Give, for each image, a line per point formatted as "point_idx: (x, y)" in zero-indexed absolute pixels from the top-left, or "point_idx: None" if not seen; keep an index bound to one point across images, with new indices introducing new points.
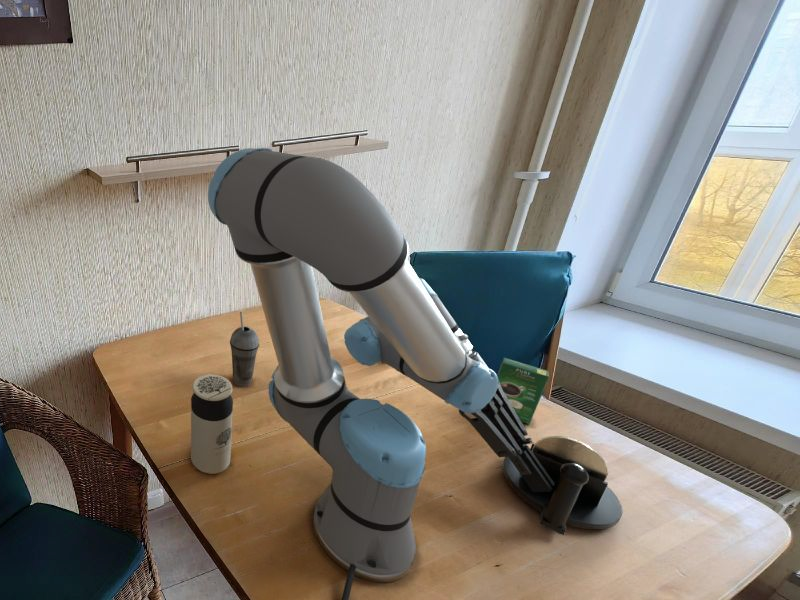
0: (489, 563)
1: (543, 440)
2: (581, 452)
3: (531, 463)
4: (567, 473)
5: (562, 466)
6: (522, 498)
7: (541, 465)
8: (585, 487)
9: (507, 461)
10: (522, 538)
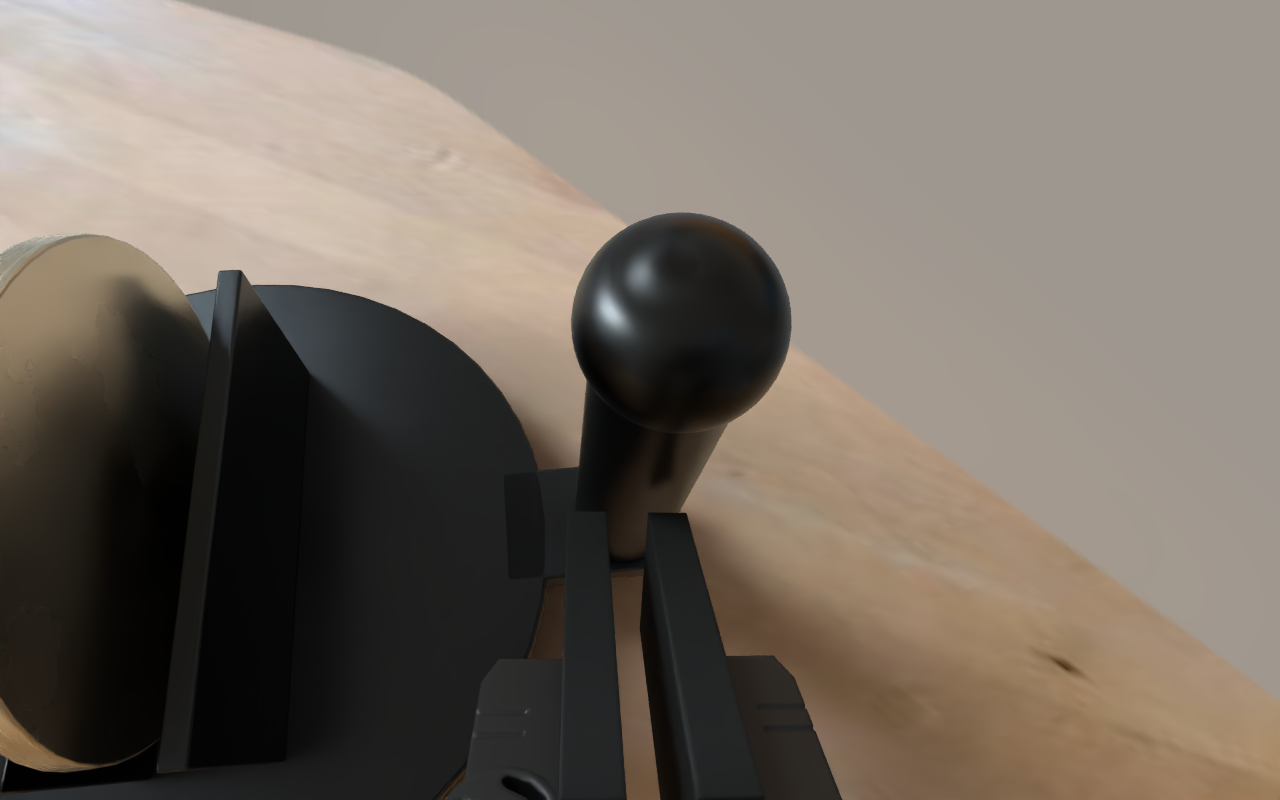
0: (1089, 695)
1: (13, 700)
2: (53, 371)
3: (731, 681)
4: (780, 353)
5: (716, 399)
6: None
7: (566, 611)
8: (273, 400)
9: None
10: (790, 621)
